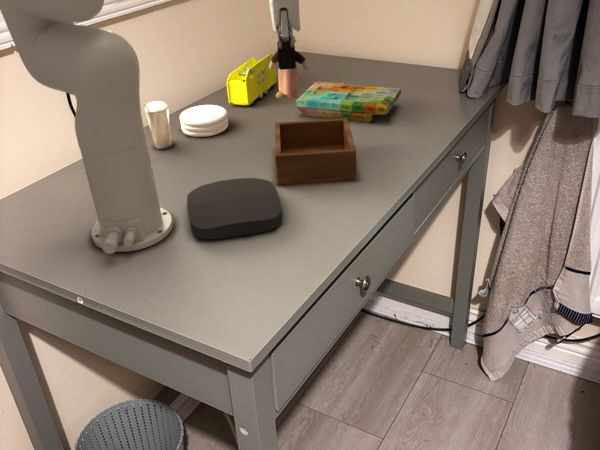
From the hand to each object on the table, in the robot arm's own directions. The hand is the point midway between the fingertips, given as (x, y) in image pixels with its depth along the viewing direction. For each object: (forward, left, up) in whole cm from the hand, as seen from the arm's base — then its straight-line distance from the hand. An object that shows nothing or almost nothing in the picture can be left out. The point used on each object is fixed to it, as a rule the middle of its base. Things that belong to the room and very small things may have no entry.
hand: (287, 64), depth 121 cm
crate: (-13, -4, -15) cm, 20 cm away
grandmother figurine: (0, 0, -7) cm, 7 cm away
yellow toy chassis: (+26, +8, -15) cm, 31 cm away
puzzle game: (+12, -13, -15) cm, 23 cm away
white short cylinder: (+8, +18, -15) cm, 25 cm away
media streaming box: (-29, +10, -15) cm, 35 cm away
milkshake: (0, +26, -15) cm, 30 cm away
